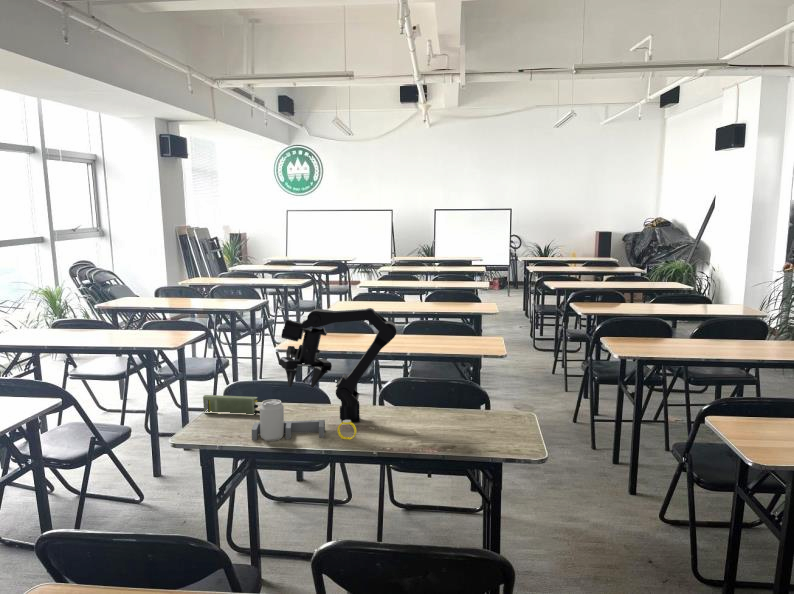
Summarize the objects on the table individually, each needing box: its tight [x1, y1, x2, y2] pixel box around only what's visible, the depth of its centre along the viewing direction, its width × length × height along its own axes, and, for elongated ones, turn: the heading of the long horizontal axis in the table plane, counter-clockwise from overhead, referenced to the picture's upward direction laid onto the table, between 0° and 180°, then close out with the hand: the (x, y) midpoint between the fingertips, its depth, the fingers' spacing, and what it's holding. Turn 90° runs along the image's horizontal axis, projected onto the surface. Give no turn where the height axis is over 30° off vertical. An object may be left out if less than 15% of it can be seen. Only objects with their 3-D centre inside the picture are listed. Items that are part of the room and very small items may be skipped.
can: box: [259, 398, 285, 442], centre depth 185 cm, size 8×8×12 cm
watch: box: [337, 420, 357, 440], centre depth 185 cm, size 6×3×6 cm, turn 77°
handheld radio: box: [202, 394, 260, 415], centre depth 210 cm, size 7×3×25 cm
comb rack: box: [251, 419, 326, 441], centre depth 188 cm, size 23×7×4 cm, turn 97°
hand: (300, 387), depth 203 cm, fingers open, 9 cm apart
